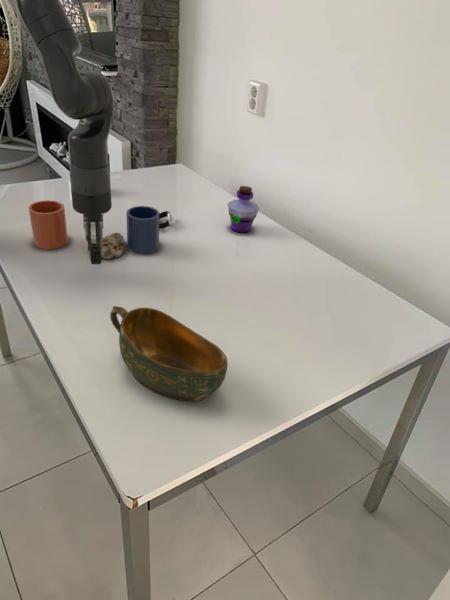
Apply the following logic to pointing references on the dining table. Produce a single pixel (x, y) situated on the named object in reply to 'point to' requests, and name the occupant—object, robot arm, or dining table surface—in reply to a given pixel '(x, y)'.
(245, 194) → the potion bottle
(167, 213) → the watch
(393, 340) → the dining table surface
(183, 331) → the painted kuksa bowl
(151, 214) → the cup right
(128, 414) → the dining table surface
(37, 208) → the cup left
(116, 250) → the mineral rock
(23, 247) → the dining table surface
